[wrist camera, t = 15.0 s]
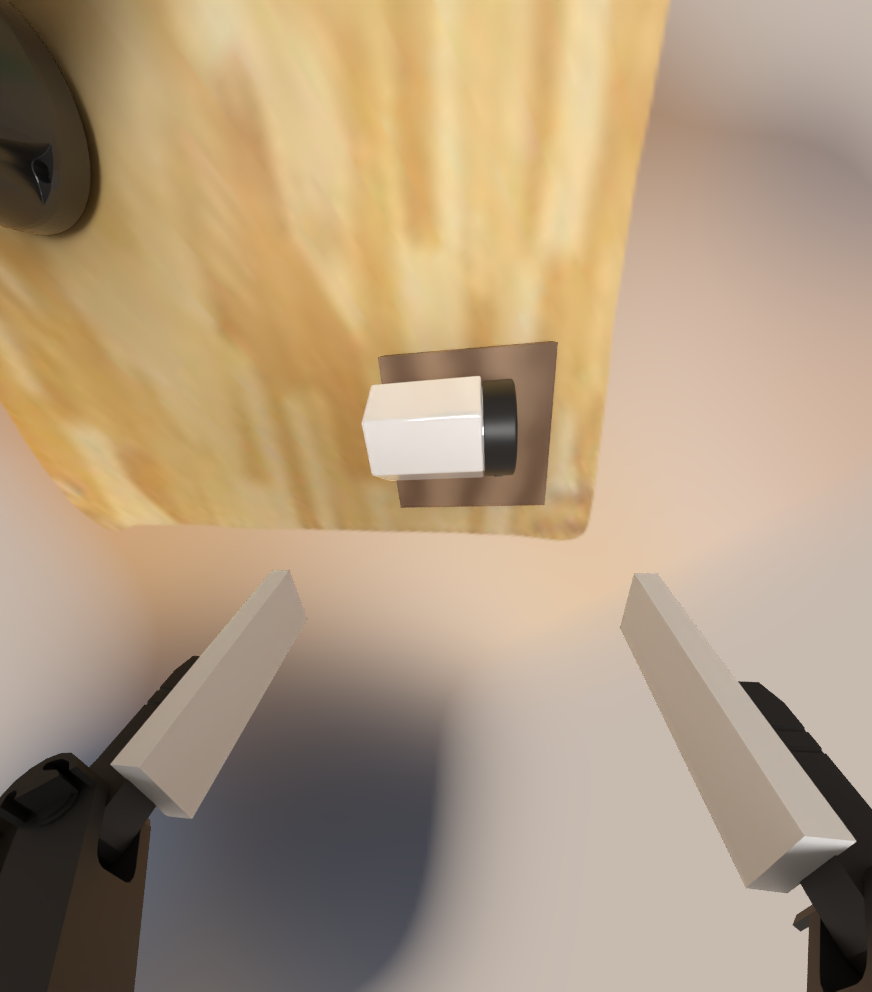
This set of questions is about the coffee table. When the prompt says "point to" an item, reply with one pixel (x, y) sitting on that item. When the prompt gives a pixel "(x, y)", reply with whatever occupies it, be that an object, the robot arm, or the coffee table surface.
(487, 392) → the jar
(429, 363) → the plinth
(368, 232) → the coffee table surface
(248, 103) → the coffee table surface
